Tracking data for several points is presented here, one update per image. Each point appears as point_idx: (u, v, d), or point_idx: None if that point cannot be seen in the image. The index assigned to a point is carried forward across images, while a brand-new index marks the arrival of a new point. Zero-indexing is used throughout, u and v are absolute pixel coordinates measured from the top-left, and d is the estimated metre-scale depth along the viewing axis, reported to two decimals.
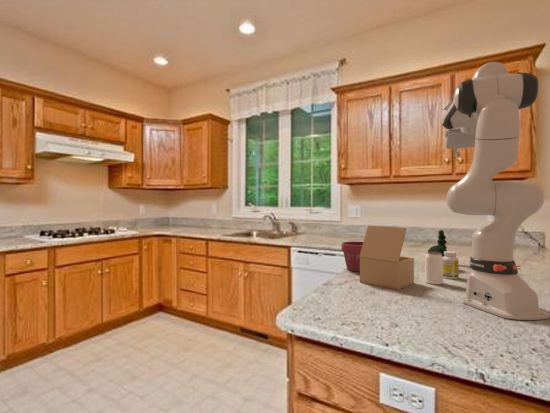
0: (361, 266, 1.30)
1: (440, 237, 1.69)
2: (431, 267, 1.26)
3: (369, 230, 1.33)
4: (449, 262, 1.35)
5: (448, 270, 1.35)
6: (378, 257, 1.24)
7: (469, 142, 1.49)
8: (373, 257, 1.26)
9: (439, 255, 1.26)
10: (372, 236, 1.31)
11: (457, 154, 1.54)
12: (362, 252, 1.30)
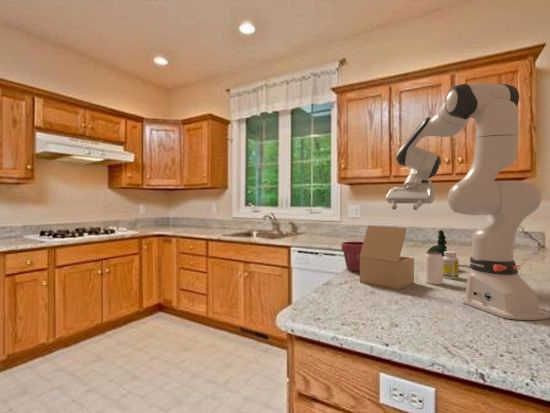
0: (361, 266, 1.30)
1: (440, 237, 1.69)
2: (431, 267, 1.26)
3: (369, 230, 1.33)
4: (449, 262, 1.35)
5: (448, 270, 1.35)
6: (378, 257, 1.24)
7: (407, 194, 1.43)
8: (373, 257, 1.26)
9: (439, 255, 1.26)
10: (372, 236, 1.31)
11: (393, 204, 1.44)
12: (362, 252, 1.30)
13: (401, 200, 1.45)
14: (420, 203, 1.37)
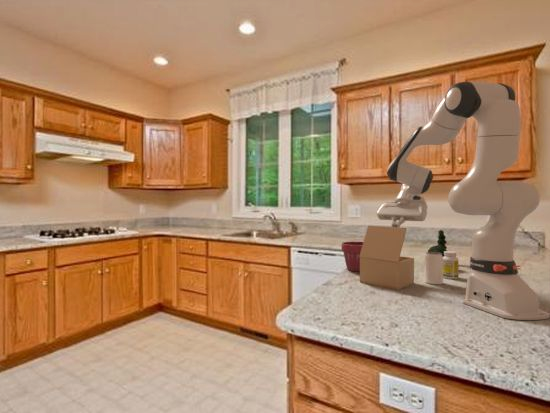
0: (361, 266, 1.30)
1: (440, 237, 1.69)
2: (431, 267, 1.26)
3: (369, 230, 1.33)
4: (449, 262, 1.35)
5: (448, 270, 1.35)
6: (378, 257, 1.24)
7: (398, 210, 1.37)
8: (373, 257, 1.26)
9: (439, 255, 1.26)
10: (372, 236, 1.31)
11: (393, 222, 1.35)
12: (362, 252, 1.30)
13: None
14: (402, 220, 1.34)
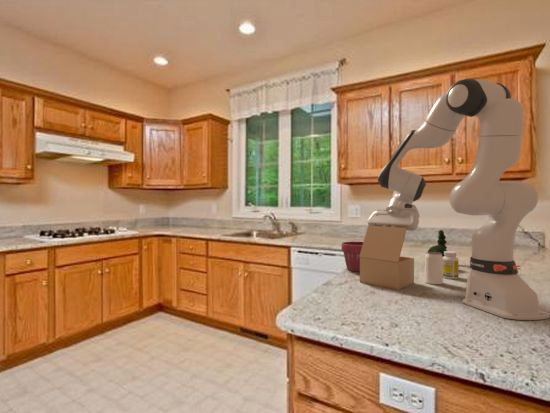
0: (361, 266, 1.30)
1: (440, 237, 1.69)
2: (431, 267, 1.26)
3: (369, 230, 1.33)
4: (449, 262, 1.35)
5: (448, 270, 1.35)
6: (378, 257, 1.24)
7: (389, 219, 1.32)
8: (373, 257, 1.26)
9: (439, 255, 1.26)
10: (372, 236, 1.31)
11: None
12: (362, 252, 1.30)
13: None
14: None
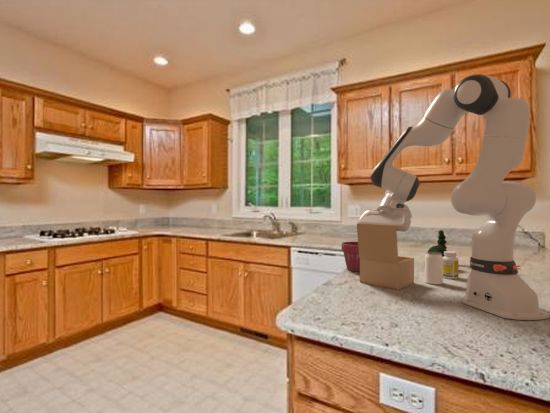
0: (361, 266, 1.30)
1: (440, 237, 1.69)
2: (431, 267, 1.26)
3: (359, 229, 1.28)
4: (449, 262, 1.35)
5: (448, 270, 1.35)
6: (377, 258, 1.24)
7: (380, 219, 1.27)
8: (373, 258, 1.25)
9: (439, 255, 1.26)
10: (364, 236, 1.27)
11: None
12: (361, 253, 1.29)
13: None
14: None
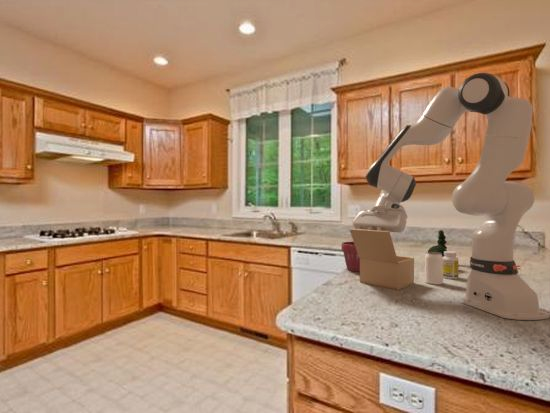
0: (361, 266, 1.30)
1: (440, 237, 1.69)
2: (431, 267, 1.26)
3: (353, 234, 1.25)
4: (449, 262, 1.35)
5: (448, 270, 1.35)
6: (377, 259, 1.24)
7: (375, 220, 1.24)
8: (372, 259, 1.25)
9: (439, 255, 1.26)
10: (359, 240, 1.24)
11: None
12: (360, 254, 1.28)
13: None
14: None
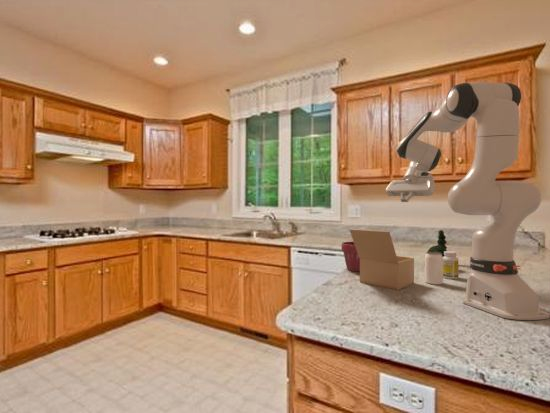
0: (361, 266, 1.30)
1: (440, 237, 1.69)
2: (431, 267, 1.26)
3: (353, 234, 1.25)
4: (449, 262, 1.35)
5: (448, 270, 1.35)
6: (377, 259, 1.24)
7: (406, 186, 1.43)
8: (372, 259, 1.25)
9: (439, 255, 1.26)
10: (359, 240, 1.24)
11: (402, 197, 1.41)
12: (360, 254, 1.28)
13: None
14: (410, 195, 1.40)
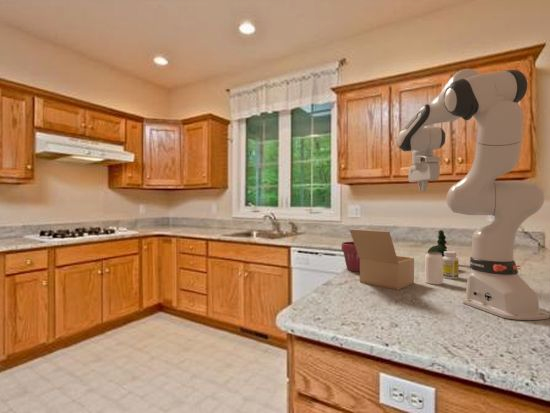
0: (361, 266, 1.30)
1: (440, 237, 1.69)
2: (431, 267, 1.26)
3: (353, 234, 1.25)
4: (449, 262, 1.35)
5: (448, 270, 1.35)
6: (377, 259, 1.24)
7: (418, 175, 1.45)
8: (372, 259, 1.25)
9: (439, 255, 1.26)
10: (359, 240, 1.24)
11: (419, 188, 1.46)
12: (360, 254, 1.28)
13: None
14: (424, 184, 1.42)
